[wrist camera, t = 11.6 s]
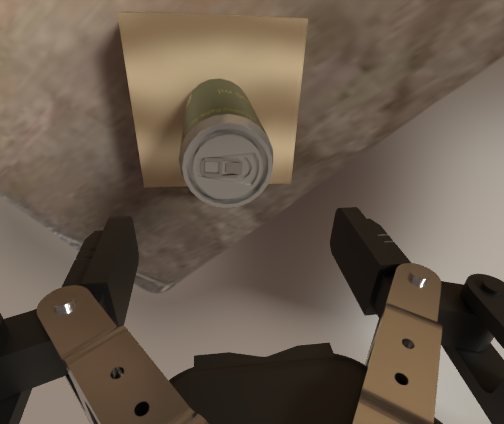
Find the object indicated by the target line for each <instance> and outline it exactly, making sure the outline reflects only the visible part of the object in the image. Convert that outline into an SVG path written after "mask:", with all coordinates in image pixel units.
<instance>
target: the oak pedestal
mask: <svg viewBox="0 0 504 424" xmlns="http://www.w3.org/2000/svg"><path fill="white" fill-rule="evenodd" d="M117 15H118V21H119V28H120V34H121V41H122V47H123V54H124V60H125V67H126V73H127V79H128V86H129V92H130V99H131V105H132V112H133V118H134V125H135V131H136V138H137V144H138V151H139V157H140V164H141V170H142V176H143V183H144V188H147V187H179V186H187V184H186V182H185V180H184V177H183V176H182V174H181V170H180V164H179V153H180V146H181V139H182V132H183V125H184V118H185V111H186V104H187V100H188V98H189V96H190V94H191V92H192V91H193V90H194V89H195V88H196V87H197V86H198V85H199V84H200V83H203V82H205V81H207V80H209V79H224V80H228V81H231V82H233V83H234V84H236V85H238V86H239V87H240V88H241V89H242V90H243V92H244V93H245V94H246V95H247V97H248V99H249V101H250V103H251V105H252V107H253V109H254V111H255V113H256V115H257V116H258V118H259V120H260V122H261V124H262V126H263V128H264V130H265V132H266V134H267V136H268V138H269V141H270V143H271V146H272V148H273V171H272V174H271V177H270V181H269V183H268V184H275V183H291V177H292V167H293V158H294V148H295V139H296V129H297V119H298V110H299V100H300V90H301V81H302V71H303V61H304V52H305V42H306V33H307V23H308V19H306V18H297V17H271V16H242V15H213V14H184V13H155V12H117Z"/></svg>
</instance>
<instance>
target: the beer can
mask: <svg viewBox="0 0 504 424" xmlns="http://www.w3.org/2000/svg"><path fill="white" fill-rule="evenodd" d="M179 164H180V170H181V174H182V176H183V177H184V180H185V182H186V184H187V186H188V187H189V189H190V191H191V192H192V193H193V194H194V195H195V196H196V197H198V198H199V199H200V200H201V201H203V202H205V203H208V204H210V205H212V206H217V207H223V208H229V207H237V206H241V205H243V204H246V203H248V202H251V201H252V200H253V199H255V198H256V197H257V196H259V195H260V194H261V193H262V192H263V190H264V189H265V187H266V186H267V185H268V183H269V181H270V177H271V174H272V171H273V148H272V146H271V143H270V141H269V138H268V136H267V134H266V132H265V130H264V128H263V126H262V124H261V122H260V120H259V118H258V116H257V115H256V113H255V111H254V109H253V107H252V105H251V103H250V101H249V99H248V97H247V95H246V94H245V93H244V92H243V90H242V89H241V88H240V87H239V86H238V85H236V84H234V83H233V82H231V81H228V80H224V79H209V80H207V81H205V82H203V83H200V84H199V85H198V86H197V87H196V88H195V89H194V90H193V91H192V92H191V94H190V96H189V98H188V100H187V104H186V111H185V118H184V125H183V132H182V139H181V146H180V153H179Z"/></svg>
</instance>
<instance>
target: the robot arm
mask: <svg viewBox="0 0 504 424" xmlns="http://www.w3.org/2000/svg"><path fill="white" fill-rule="evenodd" d="M330 247H331V252H332V255H333V256H334V258H335V260H336V262H337V264H338V266H339V268H340V270H341V272H342V273H343V275H344V277H345V279H346V281H347V283H348V284H349V287H350V288H351V290H352V292H353V294H354V296H355V298H356V300H357V301H358V303H359V305H360V307H361V309H362V311H363V313H364V314H365V315H374V314H377V315H378V317H379V321H378V324H377V327H376V330H375V333H374V337H373V340H372V343H371V346H370V350H369V353H368V356H367V360H366V363H365V365H364V364H362V363H360V362H358V361H356V360H354V359H352V358H349V357H346V356H342V355H339V354H334V353H333V351H332V348H331V346H330V343H321V344H311V345H301V346H296V347H293V348H290V349H287V350H284V351H282V352H279V353H276V354H273V355H271V356H268V357H258V356H251V355H244V354H236V353H219V354H208V355H197V356H194V367H193V368H190V369H187V370H185V371H183V372H181V373H179V374H178V375H176V376H174V377H173V378H171V379H170V380H169V381H168V380H167V378H166V377H165V376H164V374H163V373H162V372H161V371H160V369H159V368H158V367H157V366H156V365H155V363H154V362H153V361H152V360H151V358H150V357H149V356H148V355H147V353H146V352H145V351H144V350H143V348H142V347H141V346H140V345H139V343H138V342H137V341H136V340H135V338H134V337H133V336H132V335H131V333H130V332H129V331H128V330H127V329H126V327H125V326H124V322H125V318H126V313H127V310H128V305H129V301H130V297H131V293H132V289H133V284H134V280H135V276H136V272H137V267H138V261H139V253H138V246H137V240H136V235H135V230H134V224H133V220H132V217H131V216H124V217H110V218H109V219H108V221H107V224H106V226H105V228H104V231H94V232H93V233H92V234H91V235H90V236H89V237H87V238H86V239H85V240H84V242H83V245H82V247H81V249H80V251H79V253H78V255H77V257H76V260H75V261H74V263H73V265H72V267H71V269H70V271H69V273H68V275H67V277H66V279H65V281H64V284H63V285H62V287H61V288H59V289H56V290H54V291H52V292H51V293H49V294H48V295H47V296H45V297H44V298H43V299H42V300H41V301H40V303H39V304H38V306H37V309H35V310H33V311H29V312H26V313H23V314H19V315H16V316H13V317H9V318H6V319H3V317H2V316H1V314H0V424H19V423H20V420H21V417H22V415H23V412H24V409H25V407H26V404H27V401H28V398H29V396H30V393H31V390H32V388H33V387H36V386H39V385H42V384H44V383H47V382H50V381H52V380H55V379H57V378H60V377H63V376H65V378H66V380H67V381H68V383H69V385H70V387H71V389H72V391H73V392H74V394H75V396H76V398H77V400H78V402H79V403H80V405H81V407H82V409H83V411H84V413H85V415H86V416H87V418H88V420H89V422H90V424H443V423H441V422H440V421H439V420H437V419H436V418H435V417H434V414H435V403H436V392H437V380H438V370H439V360H440V348H441V345H442V347H443V348H444V350H445V352H446V353H447V354H448V356H449V358H450V359H451V361H452V362H453V364H454V365H455V367H456V369H457V370H458V372H459V373H460V375H461V376H462V378H463V380H464V381H465V383H466V384H467V386H468V387H469V389H470V390H471V392H472V394H473V395H474V397H475V398H476V400H477V401H478V403H479V404H480V406H481V408H482V409H483V411H484V412H485V414H486V415H487V417H488V419H489V420H490V422H491V423H492V424H504V360H503V358H502V357H501V356H500V355H499V353H498V352H497V351H496V350H495V348H494V347H493V346H492V344H491V341H492V340H493V338H494V337H495V339H496V340H497V341H498V342H499V344H500V345H501V346H502V347H503V348H504V282H503V281H501V280H499V279H497V278H494V277H491V276H489V275H484V274H474V275H471V276H469V277H468V279H467V280H466V282H465V284H464V285H462V284H455V283H449V282H443V281H441V280H440V278H439V277H438V276H437V274H435V273H434V272H433V271H432V270H430V269H428V268H426V267H424V266H422V265H419V264H414V263H411V262H410V261H409V260H408V258H407V257H406V256H405V255H404V254H403V252H402V251H401V250H400V249H399V248H398V246H397V245H396V244H395V243H394V242H393V240H392V239H391V238H390V236H388V235H387V233H386V232H385V230H384V229H383V228H382V227H381V226H380V225H379V224H377V223H375V222H374V221H373V220H371V219H366V218H365V216H364V215H363V214H362V213H361V211H360V210H359V209H358V208H357V207H352V208H338V209H337V210H336V214H335V218H334V223H333V229H332V233H331V239H330Z"/></svg>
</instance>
